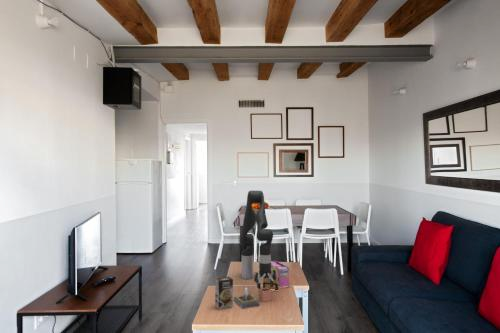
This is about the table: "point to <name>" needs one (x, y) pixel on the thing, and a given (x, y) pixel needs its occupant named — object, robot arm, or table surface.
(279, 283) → the gum box
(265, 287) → the ammunition clip
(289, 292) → the table surface
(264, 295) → the collar
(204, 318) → the table surface
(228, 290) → the coffee box
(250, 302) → the post stand
